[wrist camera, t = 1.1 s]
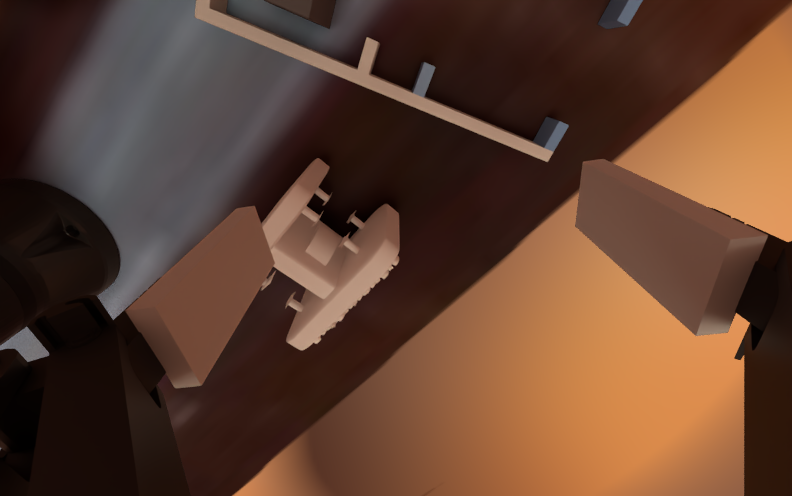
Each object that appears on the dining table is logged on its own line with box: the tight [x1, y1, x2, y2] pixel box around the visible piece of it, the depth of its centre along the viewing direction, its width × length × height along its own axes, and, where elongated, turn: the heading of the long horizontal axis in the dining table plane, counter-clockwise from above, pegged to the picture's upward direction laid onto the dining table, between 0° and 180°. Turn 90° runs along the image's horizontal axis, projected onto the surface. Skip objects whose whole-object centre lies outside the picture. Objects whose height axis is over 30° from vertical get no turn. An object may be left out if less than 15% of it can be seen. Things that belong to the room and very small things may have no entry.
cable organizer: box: [261, 158, 400, 350], centre depth 34 cm, size 15×11×12 cm
